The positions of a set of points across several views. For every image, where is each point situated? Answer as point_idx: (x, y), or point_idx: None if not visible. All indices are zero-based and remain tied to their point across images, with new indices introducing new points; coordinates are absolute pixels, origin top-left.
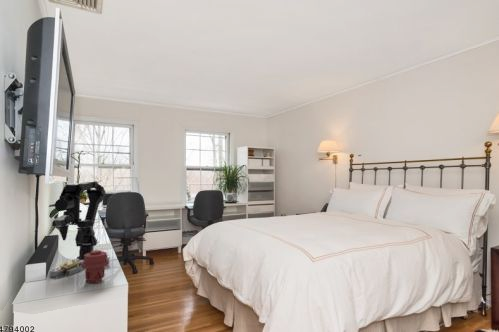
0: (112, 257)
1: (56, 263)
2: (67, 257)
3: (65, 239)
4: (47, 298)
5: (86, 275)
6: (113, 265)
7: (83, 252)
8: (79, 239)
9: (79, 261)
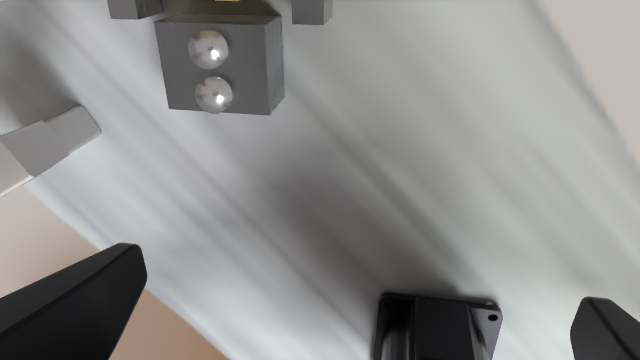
0: (208, 334)
1: (616, 141)
2: None
3: (571, 340)
4: None
5: None
6: None
7: (417, 337)
8: (92, 261)
9: (199, 54)
